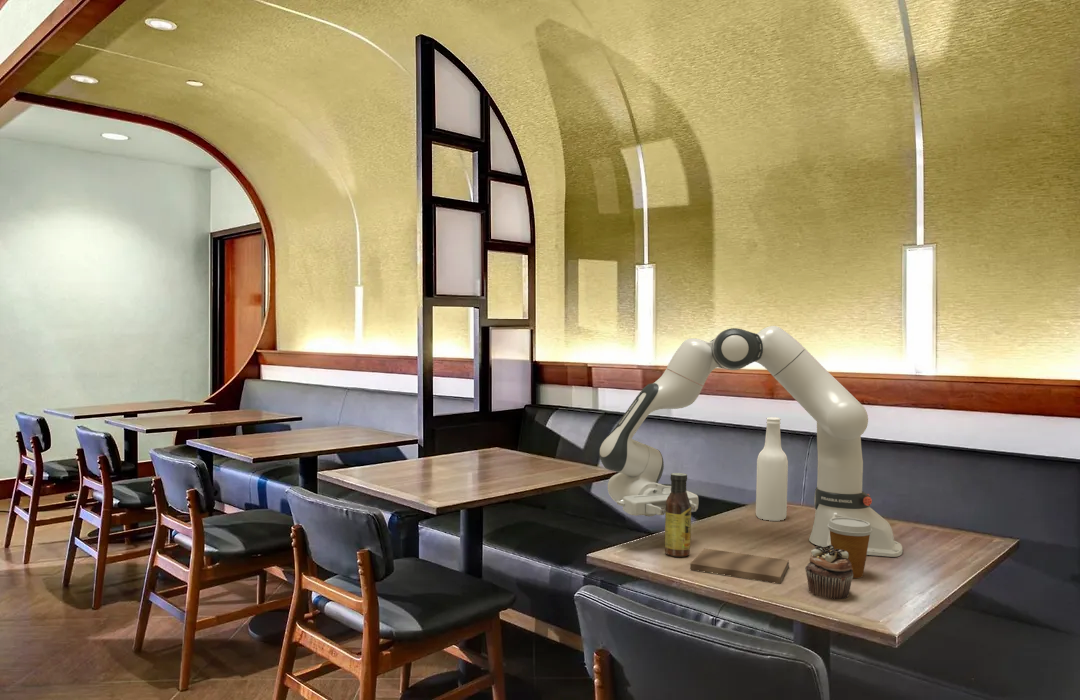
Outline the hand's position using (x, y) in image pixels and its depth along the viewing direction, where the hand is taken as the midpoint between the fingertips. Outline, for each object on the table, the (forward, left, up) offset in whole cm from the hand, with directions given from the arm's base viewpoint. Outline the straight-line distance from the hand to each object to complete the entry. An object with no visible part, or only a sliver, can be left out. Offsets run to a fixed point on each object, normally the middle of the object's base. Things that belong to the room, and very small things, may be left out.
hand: (678, 510), depth 188 cm
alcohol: (-15, -50, -11) cm, 53 cm away
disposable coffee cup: (-39, -4, -11) cm, 41 cm away
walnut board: (-16, +4, -11) cm, 20 cm away
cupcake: (-36, +12, -11) cm, 40 cm away
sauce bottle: (0, 0, -11) cm, 11 cm away
